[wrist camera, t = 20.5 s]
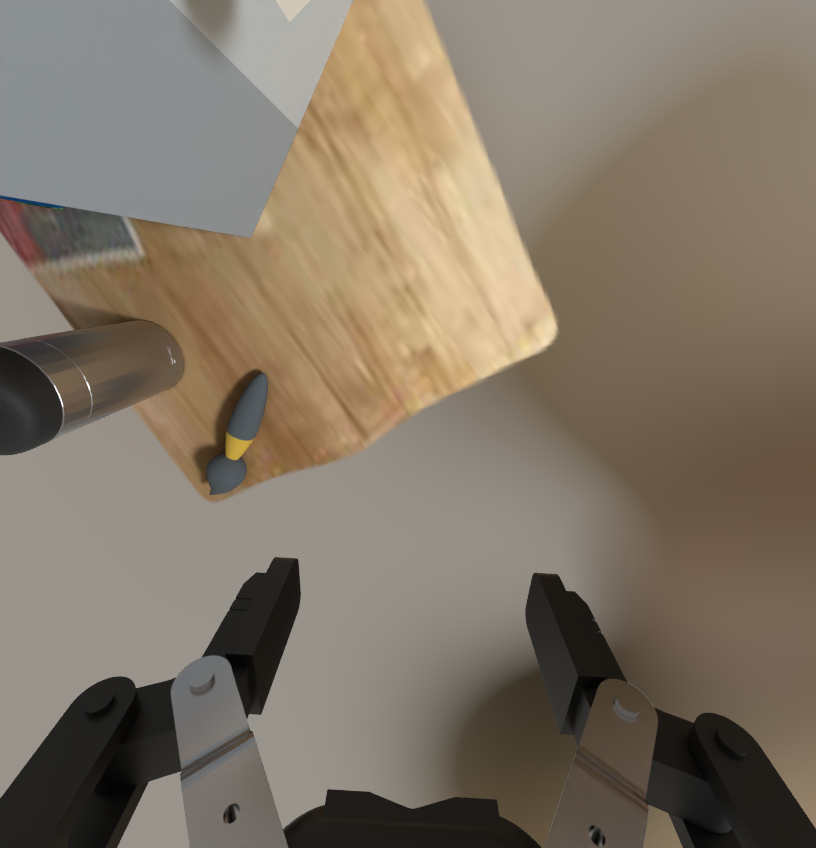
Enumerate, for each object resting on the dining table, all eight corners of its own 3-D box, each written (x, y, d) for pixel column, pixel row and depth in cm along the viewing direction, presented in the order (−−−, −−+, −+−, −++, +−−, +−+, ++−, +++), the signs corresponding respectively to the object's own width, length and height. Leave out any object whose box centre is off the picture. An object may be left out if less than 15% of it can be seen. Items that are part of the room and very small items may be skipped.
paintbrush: (240, 359, 49) (219, 369, 44) (277, 374, 49) (260, 385, 45) (213, 482, 56) (193, 501, 52) (245, 494, 57) (228, 514, 52)
